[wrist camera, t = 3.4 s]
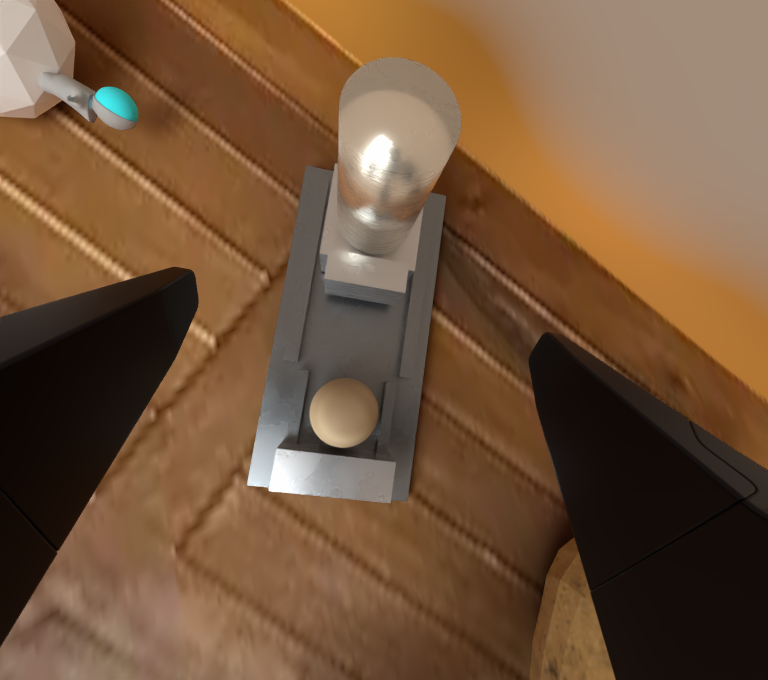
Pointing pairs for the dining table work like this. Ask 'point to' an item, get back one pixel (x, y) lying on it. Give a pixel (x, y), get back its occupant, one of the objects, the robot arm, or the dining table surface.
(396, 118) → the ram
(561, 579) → the potato
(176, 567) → the dining table surface
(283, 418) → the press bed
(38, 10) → the perfume bottle
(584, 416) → the robot arm
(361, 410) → the tan round ball
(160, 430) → the dining table surface
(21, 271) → the dining table surface
